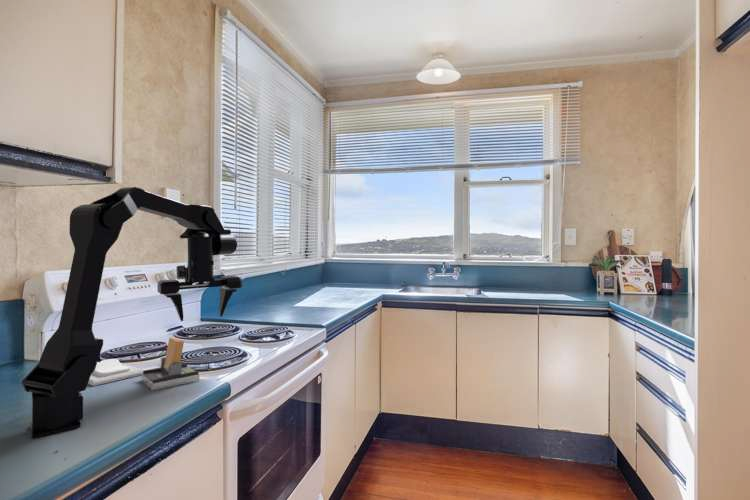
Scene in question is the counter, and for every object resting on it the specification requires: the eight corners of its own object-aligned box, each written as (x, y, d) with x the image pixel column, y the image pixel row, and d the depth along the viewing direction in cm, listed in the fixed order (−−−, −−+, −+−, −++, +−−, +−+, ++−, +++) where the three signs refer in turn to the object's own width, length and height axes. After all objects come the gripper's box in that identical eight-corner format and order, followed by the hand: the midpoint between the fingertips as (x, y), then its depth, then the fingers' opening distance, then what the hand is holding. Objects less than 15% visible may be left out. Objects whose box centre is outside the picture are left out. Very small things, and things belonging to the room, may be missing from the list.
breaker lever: (169, 375, 91) (176, 341, 91) (162, 369, 94) (169, 337, 95) (177, 374, 92) (184, 341, 93) (170, 369, 96) (177, 337, 96)
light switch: (122, 354, 105) (144, 360, 97) (123, 370, 105) (144, 377, 97) (73, 363, 96) (93, 370, 89) (73, 380, 96) (93, 389, 88)
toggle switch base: (151, 390, 86) (152, 369, 86) (141, 380, 93) (142, 360, 93) (199, 380, 93) (199, 360, 93) (186, 371, 100) (186, 352, 100)
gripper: (229, 253, 111) (230, 309, 111) (153, 256, 100) (155, 317, 100) (242, 255, 102) (243, 315, 103) (160, 258, 91) (162, 326, 91)
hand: (201, 318), depth 99 cm, fingers open, 9 cm apart
